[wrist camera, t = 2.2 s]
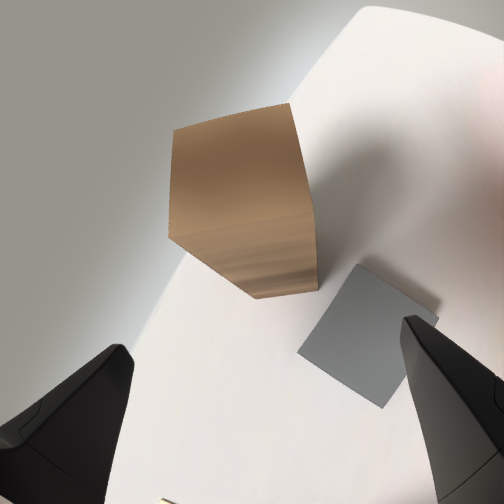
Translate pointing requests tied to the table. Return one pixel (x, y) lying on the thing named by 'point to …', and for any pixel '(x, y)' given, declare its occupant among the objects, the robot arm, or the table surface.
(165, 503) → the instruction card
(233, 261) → the pillar
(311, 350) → the base plate
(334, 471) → the table surface
